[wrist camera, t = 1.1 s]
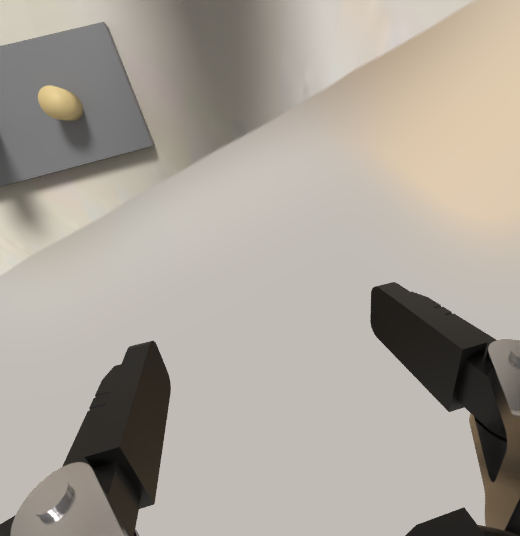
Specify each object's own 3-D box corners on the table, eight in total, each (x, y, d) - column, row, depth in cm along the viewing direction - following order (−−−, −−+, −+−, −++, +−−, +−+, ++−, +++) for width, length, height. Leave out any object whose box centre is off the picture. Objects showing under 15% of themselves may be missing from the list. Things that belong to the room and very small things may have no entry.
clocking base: (-123, 81, 18) (-290, 54, 12) (108, 27, 19) (63, -24, 13) (-33, 195, 22) (-124, 219, 16) (154, 145, 23) (137, 149, 17)
